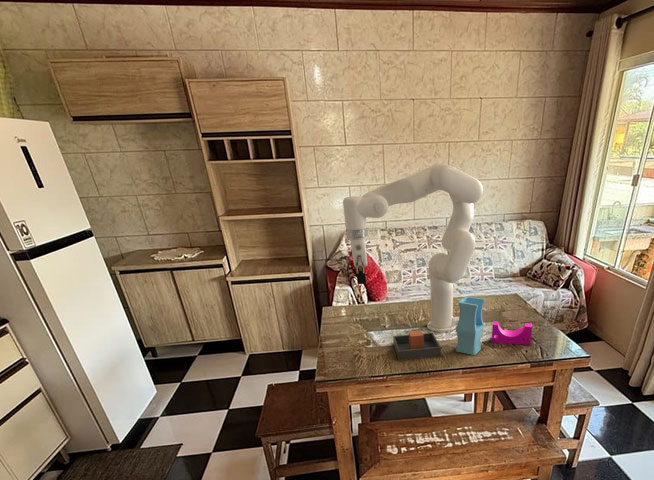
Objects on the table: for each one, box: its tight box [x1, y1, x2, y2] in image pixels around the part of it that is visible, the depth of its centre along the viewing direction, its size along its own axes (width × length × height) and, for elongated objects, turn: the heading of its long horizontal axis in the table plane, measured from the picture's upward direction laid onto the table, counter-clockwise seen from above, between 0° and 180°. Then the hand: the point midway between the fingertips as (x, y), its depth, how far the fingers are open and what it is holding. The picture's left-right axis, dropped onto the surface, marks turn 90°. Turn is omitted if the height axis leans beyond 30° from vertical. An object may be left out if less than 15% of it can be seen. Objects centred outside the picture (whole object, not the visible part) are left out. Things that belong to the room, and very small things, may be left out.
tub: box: [392, 332, 442, 361], centre depth 158 cm, size 16×14×4 cm
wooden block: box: [408, 329, 424, 350], centre depth 157 cm, size 5×5×7 cm
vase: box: [455, 296, 486, 356], centre depth 153 cm, size 8×8×20 cm
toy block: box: [490, 320, 533, 346], centre depth 163 cm, size 15×6×8 cm, turn 76°
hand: (361, 280), depth 156 cm, fingers open, 9 cm apart
